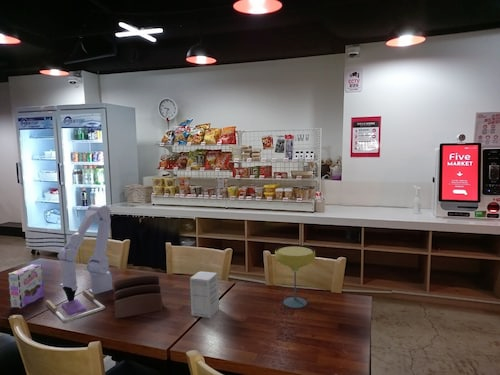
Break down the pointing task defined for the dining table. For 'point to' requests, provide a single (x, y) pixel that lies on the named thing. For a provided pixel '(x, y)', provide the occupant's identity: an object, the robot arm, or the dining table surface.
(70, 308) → the sponges
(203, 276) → the supplement box
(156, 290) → the letter holder
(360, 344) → the dining table surface
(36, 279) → the candy box
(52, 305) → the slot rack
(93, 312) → the frame
